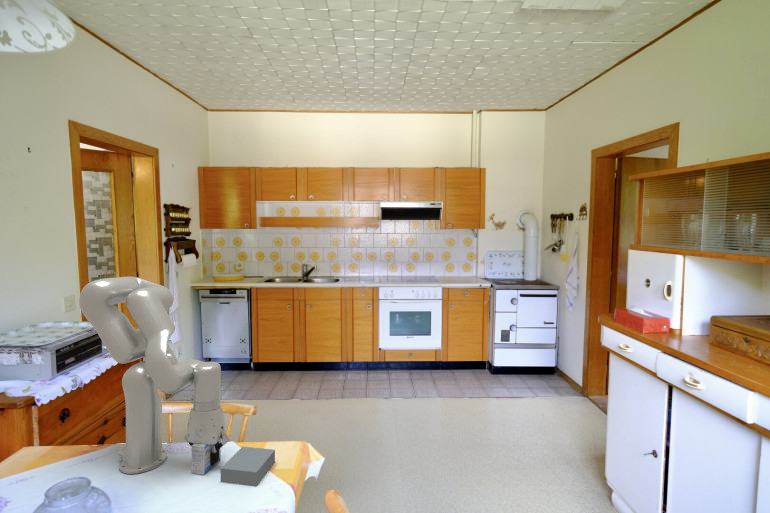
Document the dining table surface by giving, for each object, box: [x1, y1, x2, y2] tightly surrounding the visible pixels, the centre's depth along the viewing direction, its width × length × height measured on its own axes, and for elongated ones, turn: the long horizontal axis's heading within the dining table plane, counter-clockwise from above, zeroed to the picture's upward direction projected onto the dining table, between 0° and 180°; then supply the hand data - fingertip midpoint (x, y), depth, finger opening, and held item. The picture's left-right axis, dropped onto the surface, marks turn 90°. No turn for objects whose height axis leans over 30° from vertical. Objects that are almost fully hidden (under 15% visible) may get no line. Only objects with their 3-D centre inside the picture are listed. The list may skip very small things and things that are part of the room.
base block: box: [220, 446, 276, 487], centre depth 111 cm, size 11×12×4 cm
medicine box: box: [190, 438, 222, 476], centre depth 113 cm, size 8×4×9 cm, turn 168°
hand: (206, 461), depth 113 cm, fingers closed on medicine box, 4 cm apart
